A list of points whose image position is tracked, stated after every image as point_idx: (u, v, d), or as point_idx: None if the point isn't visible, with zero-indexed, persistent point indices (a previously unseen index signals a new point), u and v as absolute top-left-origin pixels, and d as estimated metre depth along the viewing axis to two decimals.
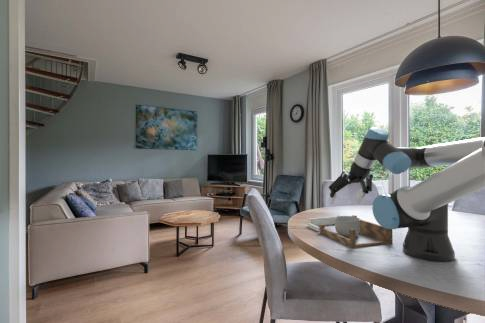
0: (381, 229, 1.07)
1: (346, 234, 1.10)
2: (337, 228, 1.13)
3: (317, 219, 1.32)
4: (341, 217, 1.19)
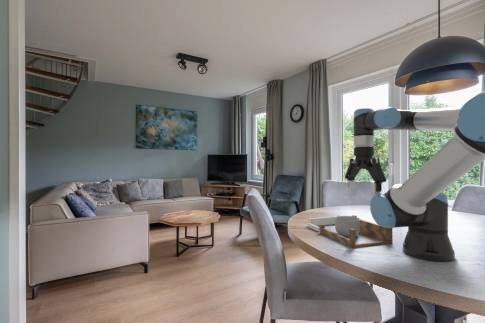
0: (381, 229, 1.07)
1: (346, 234, 1.10)
2: (337, 228, 1.13)
3: (317, 219, 1.32)
4: (341, 217, 1.19)
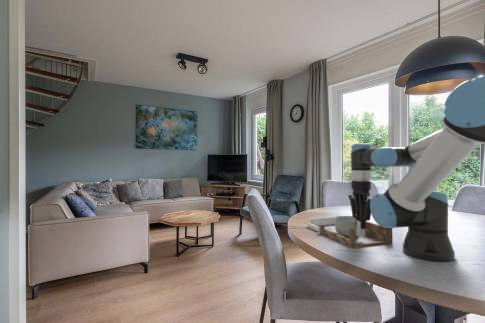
0: (381, 229, 1.07)
1: (346, 234, 1.10)
2: (337, 228, 1.13)
3: (317, 219, 1.32)
4: (341, 217, 1.19)
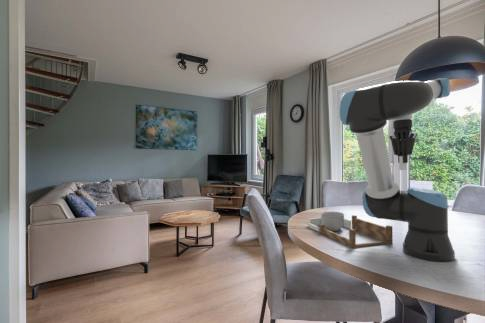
0: (381, 229, 1.07)
1: (331, 228, 1.21)
2: (323, 222, 1.24)
3: (317, 219, 1.32)
4: (327, 213, 1.30)
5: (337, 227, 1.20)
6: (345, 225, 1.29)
